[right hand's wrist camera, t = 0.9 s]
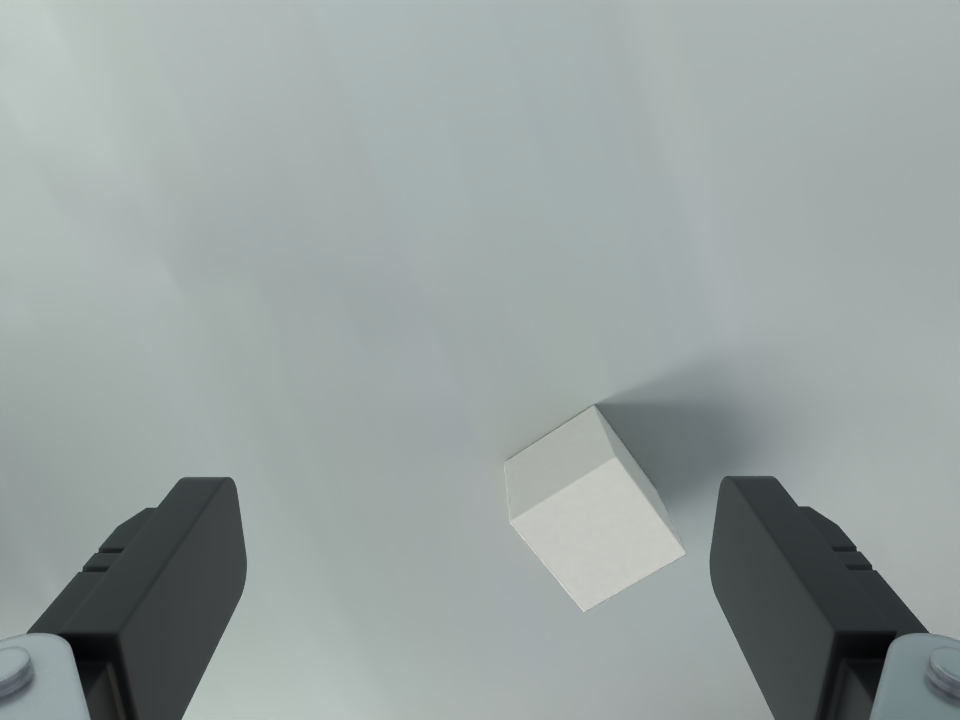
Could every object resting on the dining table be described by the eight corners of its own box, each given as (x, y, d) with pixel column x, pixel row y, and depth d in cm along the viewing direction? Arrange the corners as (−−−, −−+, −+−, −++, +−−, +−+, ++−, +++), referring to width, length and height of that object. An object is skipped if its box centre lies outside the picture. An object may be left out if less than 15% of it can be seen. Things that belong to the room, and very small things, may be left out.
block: (567, 543, 31) (584, 613, 27) (502, 462, 30) (508, 522, 25) (656, 490, 30) (688, 554, 26) (594, 403, 29) (617, 456, 24)
